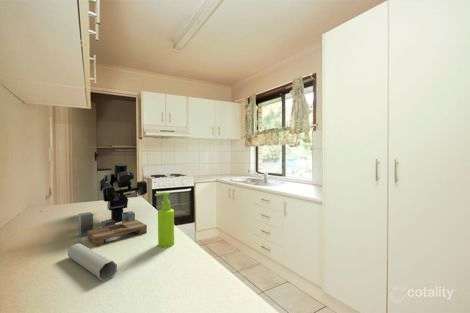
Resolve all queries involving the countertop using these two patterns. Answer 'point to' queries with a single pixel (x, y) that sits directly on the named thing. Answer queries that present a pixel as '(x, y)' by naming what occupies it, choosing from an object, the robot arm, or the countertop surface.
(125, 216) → the medium pin
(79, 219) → the long pin
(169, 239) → the soap dispenser
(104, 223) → the grey metal cube
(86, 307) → the countertop surface
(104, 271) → the tube
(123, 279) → the countertop surface
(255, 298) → the countertop surface
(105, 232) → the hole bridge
